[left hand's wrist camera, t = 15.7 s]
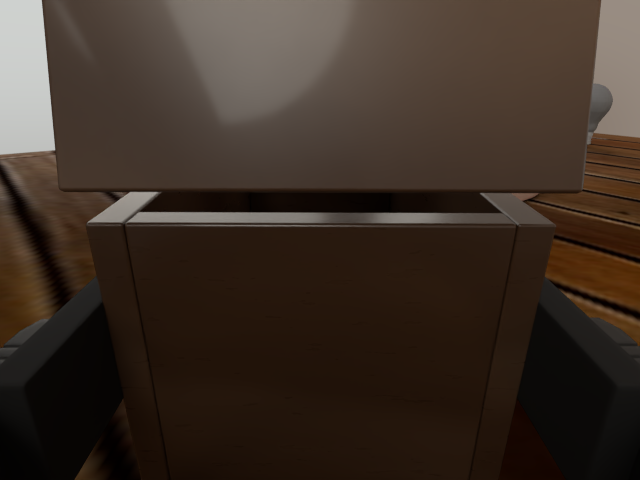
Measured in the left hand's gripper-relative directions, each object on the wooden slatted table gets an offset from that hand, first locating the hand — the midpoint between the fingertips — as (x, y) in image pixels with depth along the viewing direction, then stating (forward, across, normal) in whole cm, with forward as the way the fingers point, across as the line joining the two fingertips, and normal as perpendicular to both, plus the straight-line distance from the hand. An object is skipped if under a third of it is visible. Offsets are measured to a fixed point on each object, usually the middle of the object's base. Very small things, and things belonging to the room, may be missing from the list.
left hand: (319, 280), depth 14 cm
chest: (+5, 0, -6) cm, 8 cm away
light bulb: (+63, +45, -6) cm, 78 cm away
